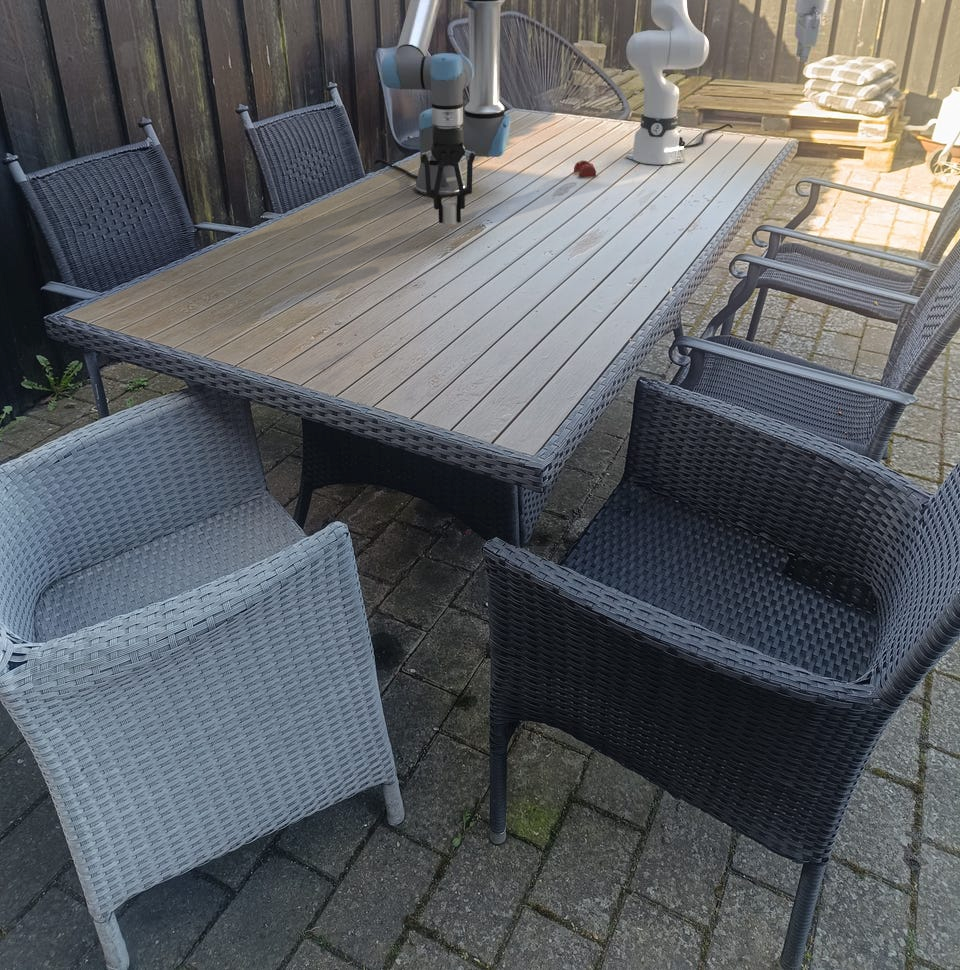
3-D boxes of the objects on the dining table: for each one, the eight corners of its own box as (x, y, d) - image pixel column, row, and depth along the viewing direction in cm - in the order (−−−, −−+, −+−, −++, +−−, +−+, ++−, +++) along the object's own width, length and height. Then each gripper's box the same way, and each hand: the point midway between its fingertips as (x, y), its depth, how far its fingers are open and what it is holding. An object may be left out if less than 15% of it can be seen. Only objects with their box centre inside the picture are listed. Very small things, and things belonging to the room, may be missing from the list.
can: (440, 224, 217) (440, 205, 214) (442, 219, 220) (442, 200, 217) (456, 225, 216) (456, 206, 213) (458, 219, 220) (458, 201, 217)
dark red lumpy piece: (589, 157, 273) (597, 163, 266) (588, 170, 275) (597, 177, 269) (572, 158, 272) (581, 165, 265) (572, 172, 274) (580, 179, 268)
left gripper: (412, 129, 201) (416, 226, 214) (484, 128, 202) (483, 225, 215) (412, 122, 207) (416, 217, 220) (481, 121, 208) (481, 215, 221)
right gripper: (829, 10, 231) (817, 65, 239) (818, 1, 247) (807, 54, 255) (805, 9, 232) (794, 65, 240) (796, 1, 248) (786, 53, 256)
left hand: (449, 221), depth 218 cm, fingers closed on can, 4 cm apart
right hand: (801, 59), depth 248 cm, fingers open, 8 cm apart
